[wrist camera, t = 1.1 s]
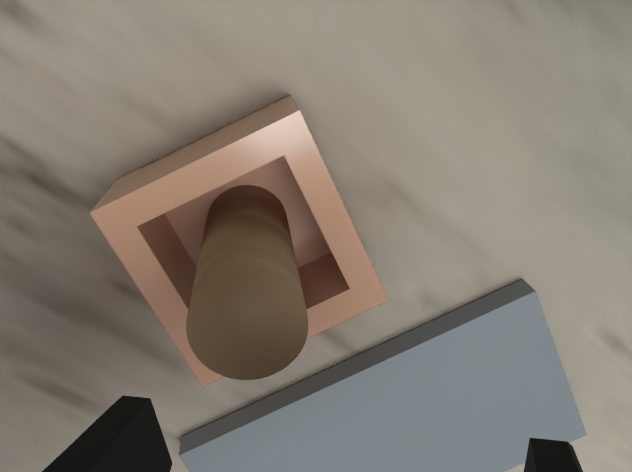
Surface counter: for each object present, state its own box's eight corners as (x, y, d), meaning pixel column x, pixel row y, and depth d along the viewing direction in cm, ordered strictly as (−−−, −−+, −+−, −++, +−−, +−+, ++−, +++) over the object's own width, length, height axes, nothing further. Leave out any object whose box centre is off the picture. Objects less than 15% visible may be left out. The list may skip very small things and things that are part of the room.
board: (264, 555, 28) (265, 578, 27) (181, 436, 26) (178, 455, 24) (572, 418, 28) (586, 434, 26) (522, 278, 25) (535, 291, 24)
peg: (230, 273, 23) (222, 397, 15) (191, 206, 22) (162, 305, 14) (301, 240, 22) (327, 349, 15) (265, 171, 21) (275, 251, 14)
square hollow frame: (209, 329, 24) (202, 387, 20) (116, 179, 21) (89, 212, 18) (366, 256, 24) (388, 300, 20) (290, 94, 21) (299, 110, 17)
